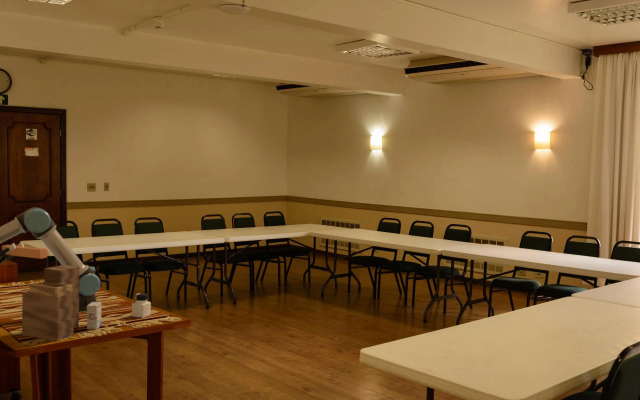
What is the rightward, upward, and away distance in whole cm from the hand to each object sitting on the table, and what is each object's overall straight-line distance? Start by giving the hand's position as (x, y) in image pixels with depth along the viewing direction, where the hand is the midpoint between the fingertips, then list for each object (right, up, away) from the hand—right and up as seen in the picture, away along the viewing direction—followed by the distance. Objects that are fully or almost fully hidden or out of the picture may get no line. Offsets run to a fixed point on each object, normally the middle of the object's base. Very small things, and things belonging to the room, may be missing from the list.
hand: (18, 245), depth 290 cm
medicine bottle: (+47, -41, +37) cm, 72 cm away
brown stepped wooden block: (+18, -41, +1) cm, 45 cm away
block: (+3, -5, -1) cm, 6 cm away
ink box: (+31, -41, +12) cm, 53 cm away
